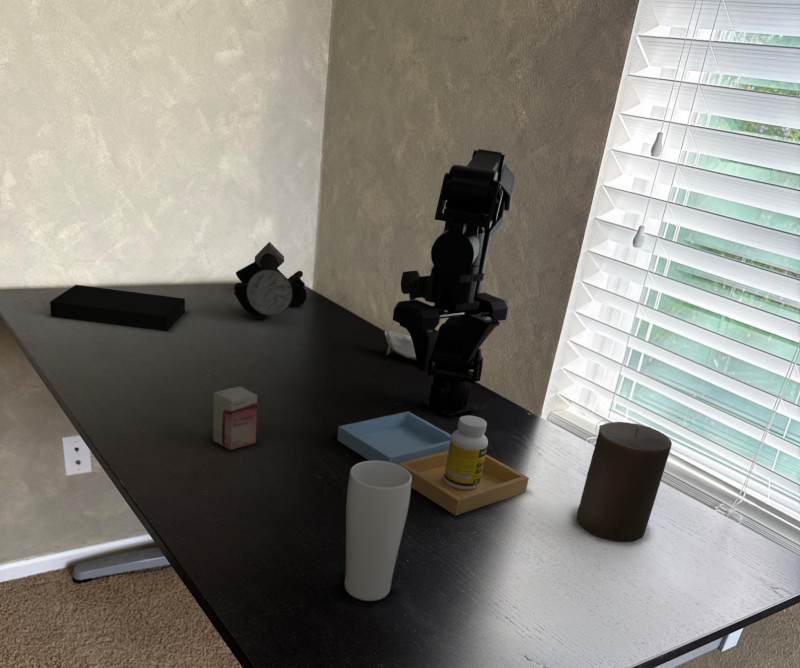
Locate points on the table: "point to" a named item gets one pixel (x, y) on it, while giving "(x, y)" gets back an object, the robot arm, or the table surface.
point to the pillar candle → (623, 480)
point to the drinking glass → (374, 526)
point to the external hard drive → (118, 307)
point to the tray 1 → (394, 438)
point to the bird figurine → (400, 344)
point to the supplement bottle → (466, 453)
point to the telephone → (268, 285)
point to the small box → (234, 417)
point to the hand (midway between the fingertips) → (443, 366)
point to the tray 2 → (492, 488)
